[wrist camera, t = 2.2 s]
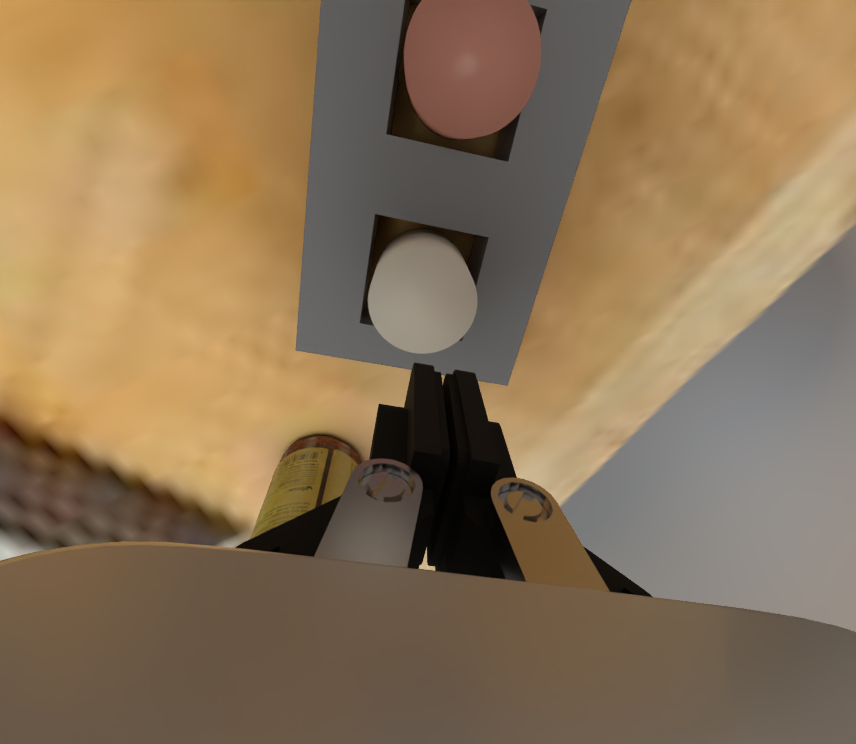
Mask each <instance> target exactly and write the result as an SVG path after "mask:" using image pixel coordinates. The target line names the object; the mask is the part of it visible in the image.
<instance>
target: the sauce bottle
mask: <svg viewBox="0 0 856 744" xmlns="http://www.w3.org/2000/svg"><path fill="white" fill-rule="evenodd" d="M360 464H361V463H360V458H359V456H358V454H357V452H356V451H354V450H353V449H352V448H351V447H350V446H348V445H346V444H345V443H343V442H341V441H339V440H337V439H335V438H332V437H327V436H314V437H307V438H304V439H301V440H299V441H297V442H295V443H294V444H293V445H291V446H290V448H289V449H288V450H287V451H286V452H285V454H284V455H283V457H282V459H281V461H280V463H279V464H278V466H277V468H276V470H275V472H274V475H273V478H272V480H271V483H270V486H269V489H268V492H267V494H266V497H265V500H264V503H263V505H262V508H261V510H260V513H259V516H258V519H257V522H256V525H255V528H254V530H253V533H252V536H251V538H250V539H252V538H254V537H256V536H258V535H260V534H262V533H264V532H266V531H269V530H271V529H273V528H275V527H277V526H279V525H281V524H283V523H285V522H287V521H289V520H291V519H293V518H295V517H298V516H300V515H302V514H304V513H306V512H308V511H310V510H312V509H314V508H316V507H318V506H320V505H322V504H325V503H327V502H329V501H331V500H333V499H335V498H337V497H339V496H341V495H342V493H343V491H344V489H345V487H346V484H347V482H348V480H349V478H350V475H351V473H352V472H353V470H354V469H355V468H356V466H358V465H360Z"/></svg>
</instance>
